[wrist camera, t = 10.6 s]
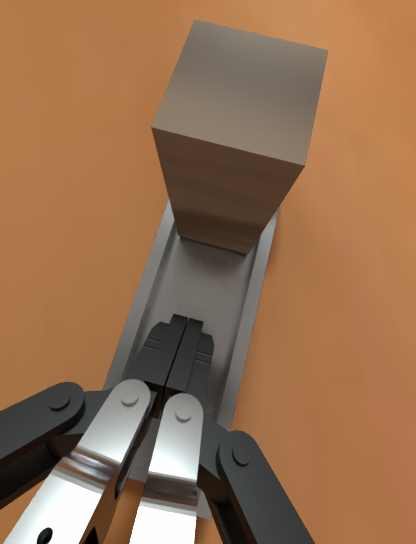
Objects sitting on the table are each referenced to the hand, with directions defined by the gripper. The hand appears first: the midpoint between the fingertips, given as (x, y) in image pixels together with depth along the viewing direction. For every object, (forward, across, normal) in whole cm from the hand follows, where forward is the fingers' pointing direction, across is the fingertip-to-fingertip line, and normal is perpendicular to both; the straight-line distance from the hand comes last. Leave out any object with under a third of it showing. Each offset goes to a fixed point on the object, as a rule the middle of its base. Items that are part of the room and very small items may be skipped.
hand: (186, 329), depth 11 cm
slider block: (+8, 0, -4) cm, 9 cm away
